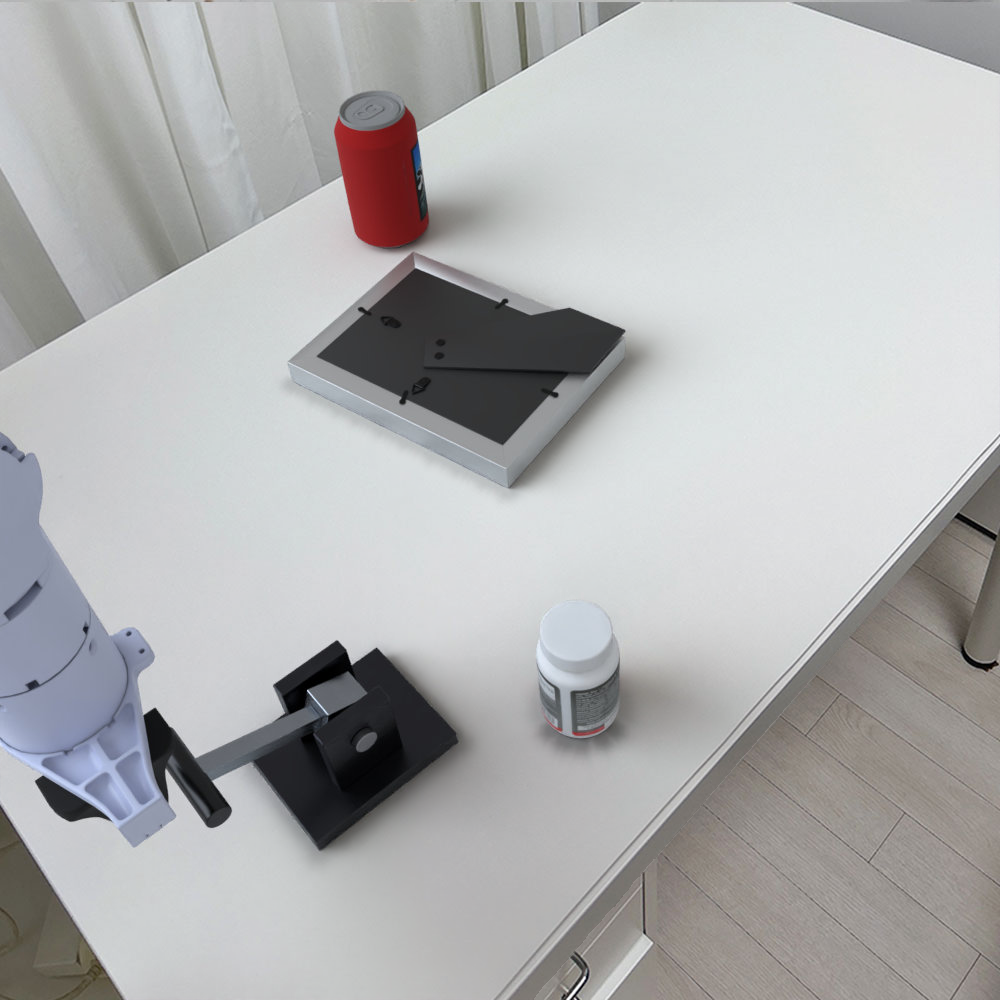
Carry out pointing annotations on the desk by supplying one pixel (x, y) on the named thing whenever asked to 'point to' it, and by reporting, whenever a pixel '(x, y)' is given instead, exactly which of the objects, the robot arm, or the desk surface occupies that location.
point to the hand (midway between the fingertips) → (130, 787)
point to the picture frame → (460, 365)
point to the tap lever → (256, 746)
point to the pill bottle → (578, 669)
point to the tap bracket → (352, 744)
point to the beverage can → (382, 169)
